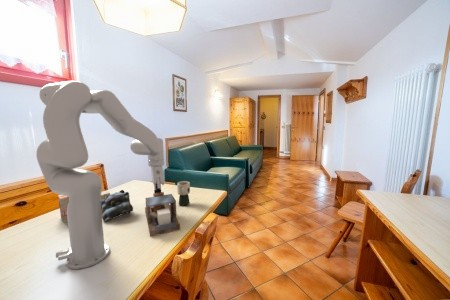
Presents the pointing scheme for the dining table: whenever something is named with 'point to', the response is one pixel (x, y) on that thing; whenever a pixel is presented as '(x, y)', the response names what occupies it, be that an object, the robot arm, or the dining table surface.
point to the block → (163, 216)
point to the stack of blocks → (65, 200)
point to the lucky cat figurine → (116, 205)
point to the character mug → (183, 192)
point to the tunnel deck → (151, 214)
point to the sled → (159, 207)
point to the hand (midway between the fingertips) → (158, 196)
